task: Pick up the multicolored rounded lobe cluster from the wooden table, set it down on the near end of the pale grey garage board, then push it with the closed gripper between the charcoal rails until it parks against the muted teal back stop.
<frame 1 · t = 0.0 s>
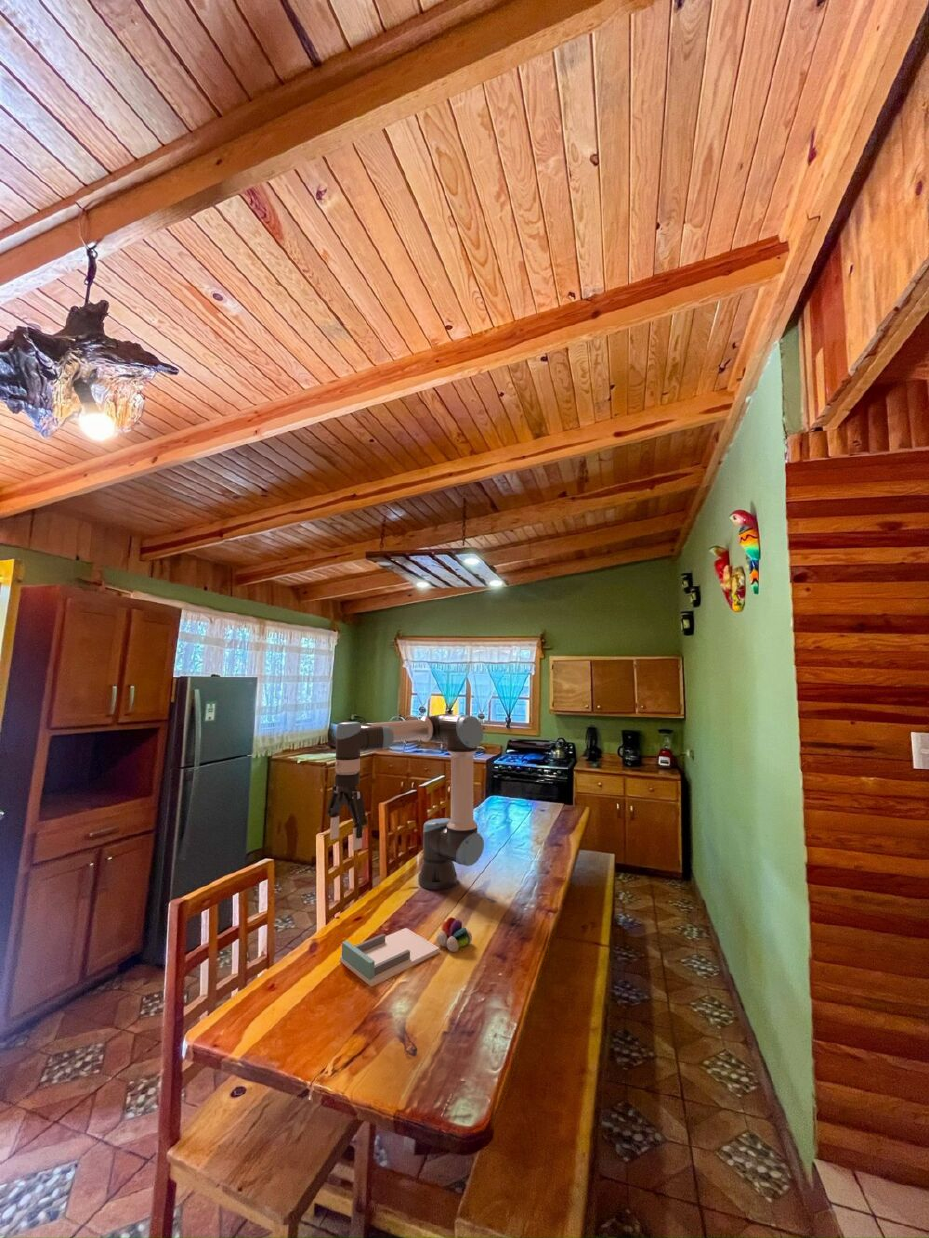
hand: (345, 843, 149), 28 cm above the table, fingers open, 13 cm apart
garage board: (390, 956, 138), on the table
multicolored rounded lobe cluster: (454, 945, 144), on the table
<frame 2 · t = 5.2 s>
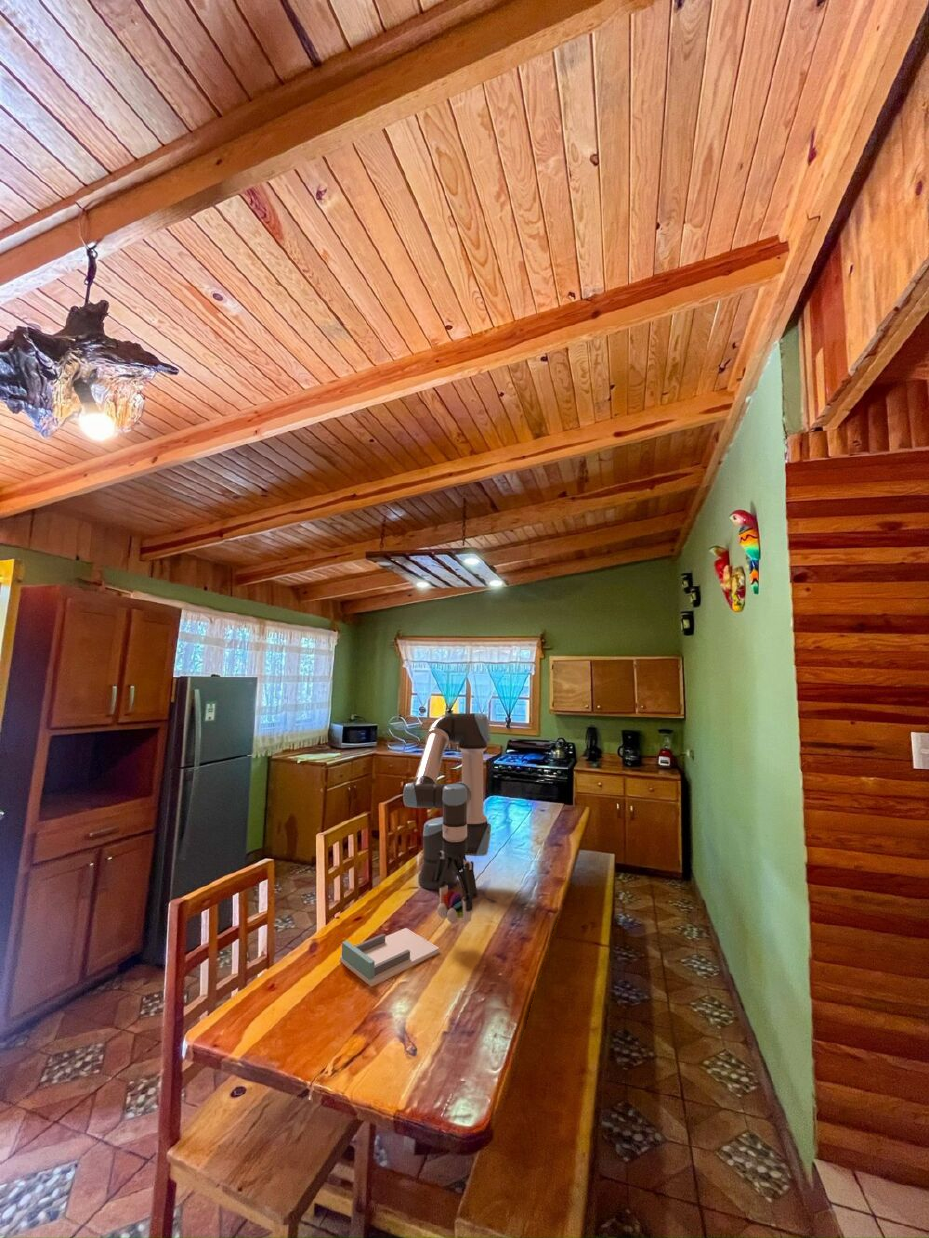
hand: (455, 915, 146), 8 cm above the table, fingers closed on multicolored rounded lobe cluster, 10 cm apart
multicolored rounded lobe cluster: (454, 917, 146), point 7 cm above the table, touching gripper
when the fingers open (2 cm above the table, at t = 9.5 s): multicolored rounded lobe cluster stays where it is, resting on garage board.
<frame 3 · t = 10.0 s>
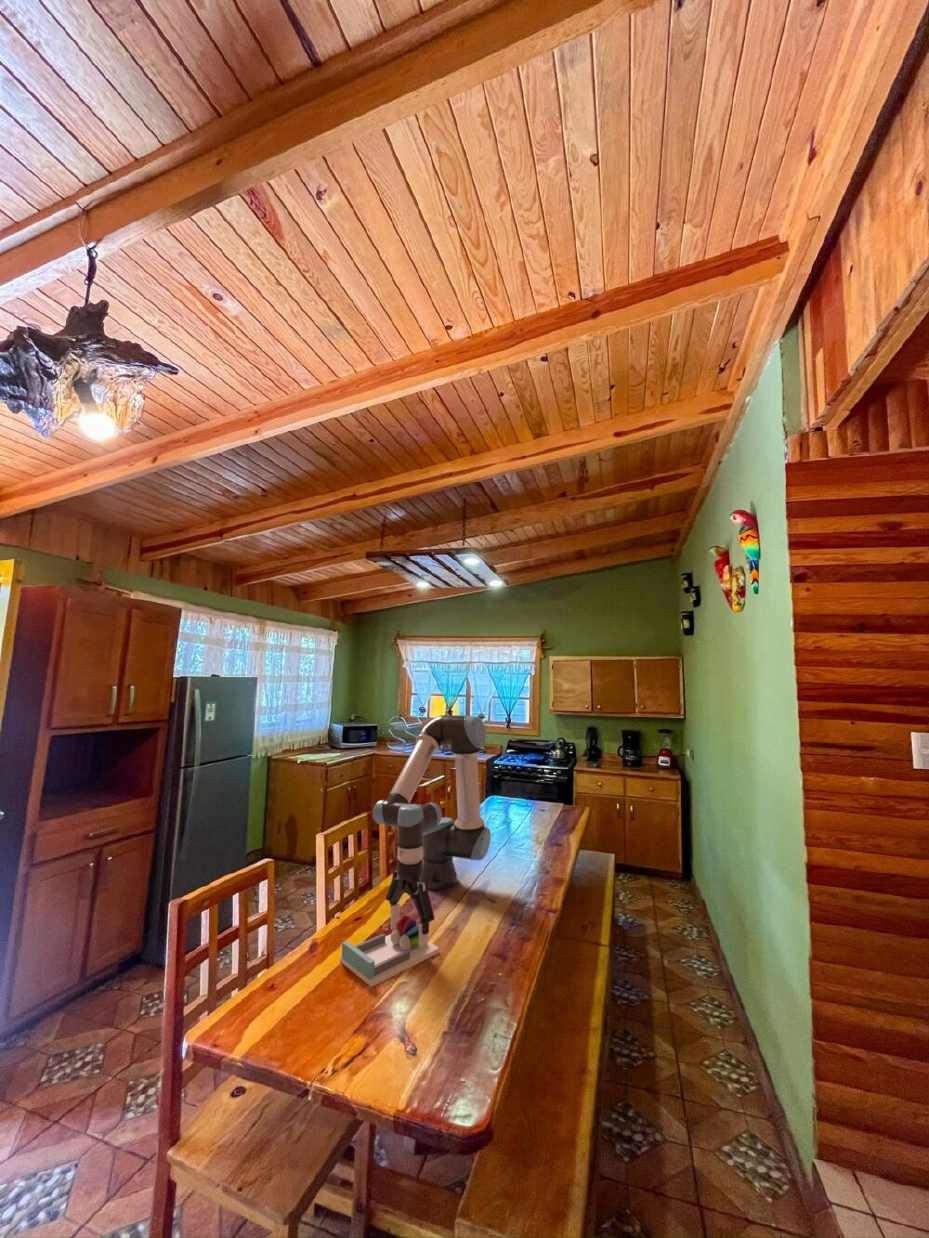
hand: (408, 936, 143), 3 cm above the table, fingers open, 13 cm apart
multicolored rounded lobe cluster: (408, 944, 142), point 1 cm above the table, touching garage board
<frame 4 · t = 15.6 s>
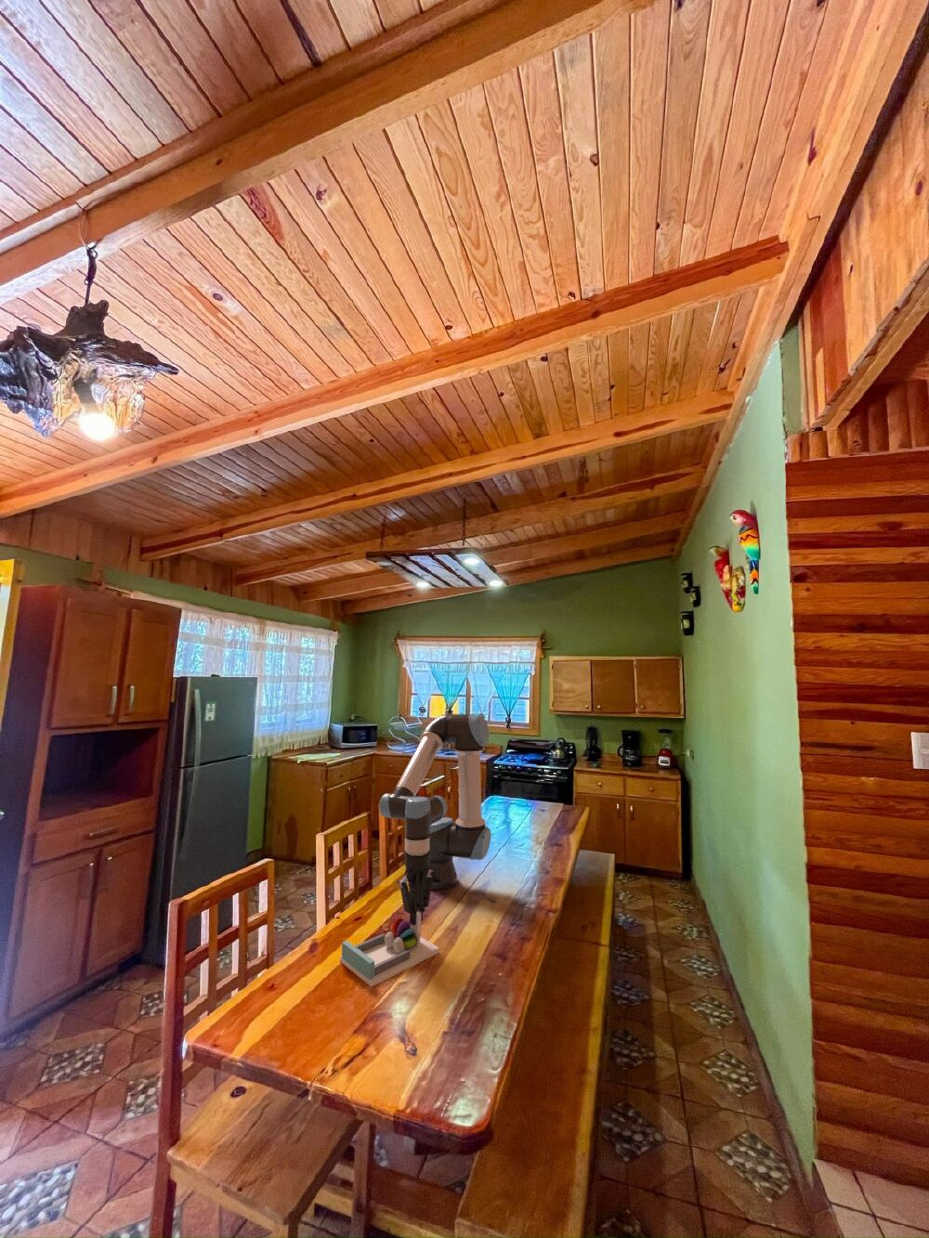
hand: (416, 934, 144), 3 cm above the table, fingers closed
multicolored rounded lobe cluster: (402, 947, 141), point 1 cm above the table, touching garage board, gripper
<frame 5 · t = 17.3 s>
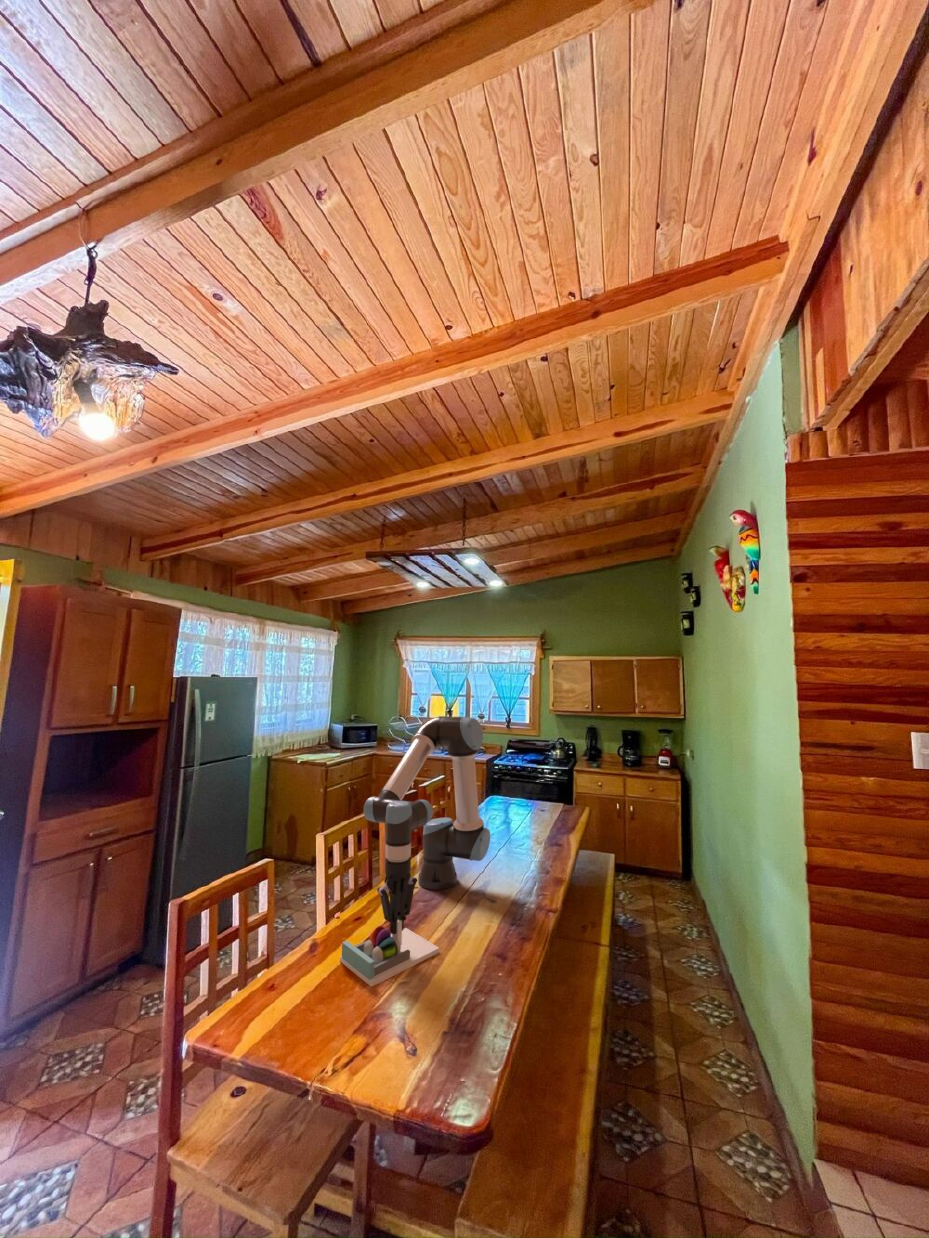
hand: (396, 943, 140), 3 cm above the table, fingers closed
multicolored rounded lobe cluster: (382, 956, 136), point 1 cm above the table, touching garage board, gripper
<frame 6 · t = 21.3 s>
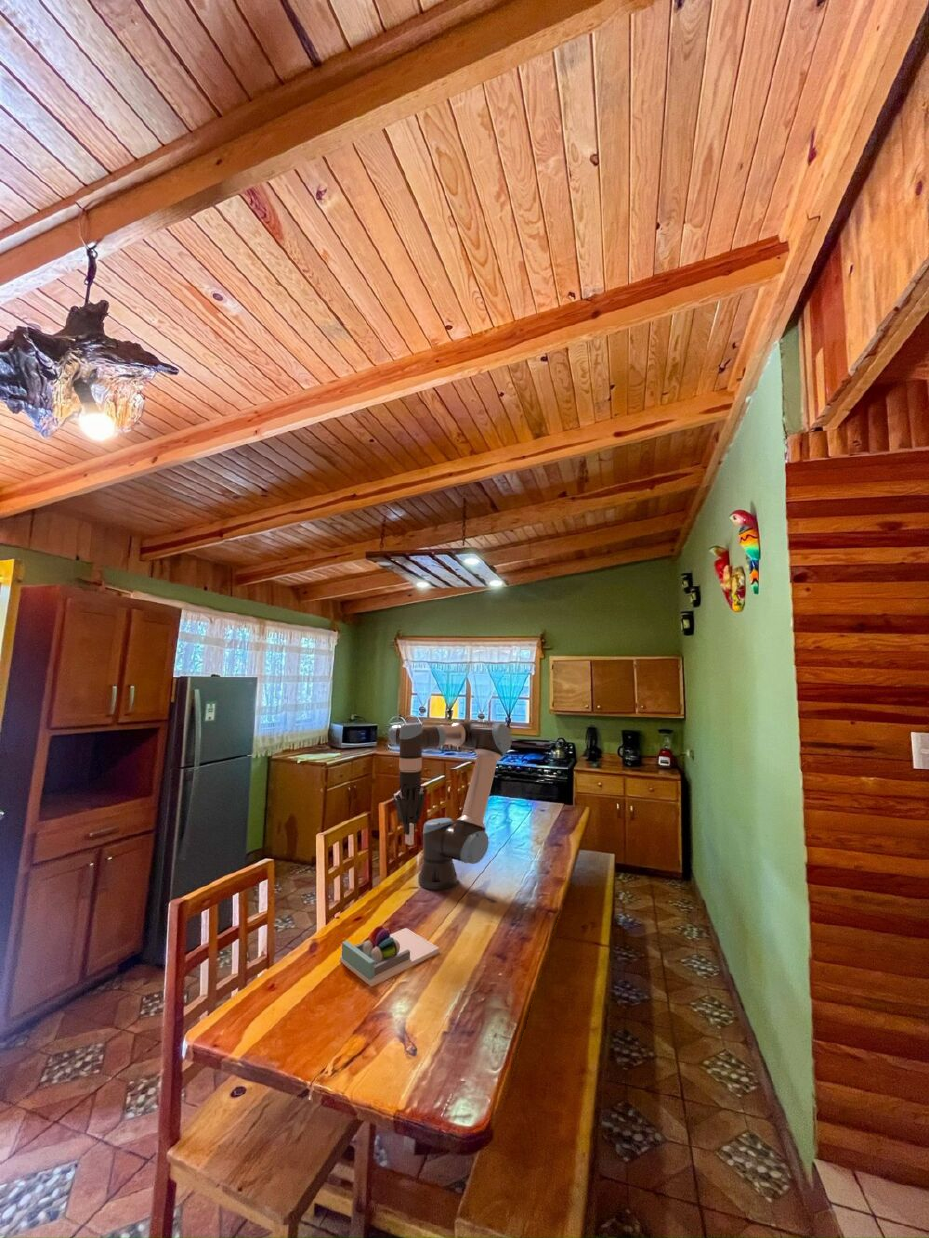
hand: (409, 843, 160), 24 cm above the table, fingers closed
multicolored rounded lobe cluster: (381, 956, 136), point 1 cm above the table, touching garage board
at the end: multicolored rounded lobe cluster 0.5 cm from the target spot on the garage board, point 1.0 cm above the garage board's base; multicolored rounded lobe cluster tilted 0°; the gripper is holding nothing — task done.
